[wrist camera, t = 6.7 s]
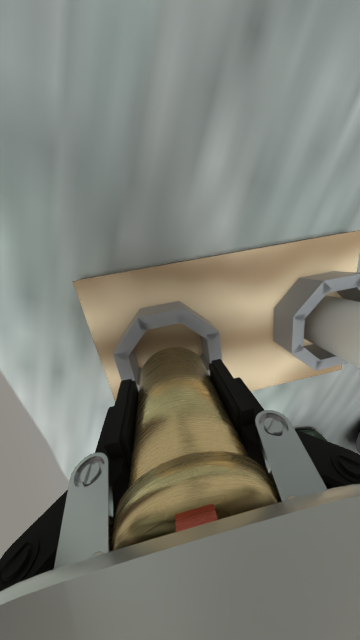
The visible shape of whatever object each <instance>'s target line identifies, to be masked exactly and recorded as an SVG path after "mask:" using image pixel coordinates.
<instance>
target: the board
mask: <svg viewBox="0 0 360 640" xmlns="http://www.w3.org/2000/svg"><path fill="white" fill-rule="evenodd" d="M359 252H360V230H359V231H352V232H345V233H339V234H334V235H328V236H323V237H317V238H311V239H306V240H300V241H294V242H289V243H283V244H277V245H272V246H266V247H261V248H255V249H249V250H244V251H238V252H232V253H227V254H221V255H215V256H210V257H204V258H199V259H193V260H187V261H182V262H176V263H170V264H165V265H159V266H153V267H148V268H142V269H137V270H131V271H125V272H120V273H114V274H108V275H103V276H97V277H91V278H86V279H80V280H77V281H73V284H74V287H75V290H76V293H77V295H78V298H79V301H80V304H81V307H82V309H83V312H84V315H85V318H86V321H87V323H88V326H89V329H90V332H91V335H92V338H93V340H94V343H95V346H96V349H97V352H98V354H99V357H100V360H101V363H102V366H103V368H104V371H105V374H106V377H107V380H108V383H109V385H110V388H111V391H112V394H113V397H114V399H115V402H116V398H117V394H118V390H119V387H120V383H121V378H120V375H119V372H118V369H117V366H116V362H115V359H114V356H113V353H114V351H115V348H116V346H117V344H118V341H119V339H120V338H121V336H122V335H123V333H124V332H125V330H126V329H127V327H128V326H129V324H130V323H131V321H132V320H133V318H134V317H135V315H136V314H137V312H138V311H139V309H140V308H146V307H151V306H156V305H161V304H166V303H171V302H177V301H180V302H182V303H183V304H185V305H186V306H188V307H189V308H191V309H192V310H194V311H195V312H197V313H198V314H200V315H201V316H203V317H204V318H205V319H207V320H208V321H210V322H211V323H212V324H213V325H214V327H215V328H216V329H217V330H218V331H219V333H220V343H221V353H222V362H223V363H224V364H225V366H226V367H227V369H228V370H229V372H230V373H231V375H232V376H233V378H238V377H239V378H241V379H242V381H243V382H244V383H245V385H246V386H247V387H248V389H249V390H250V391H253V390H257V389H262V388H266V387H270V386H274V385H278V384H282V383H287V382H291V381H295V380H299V379H303V378H308V377H312V376H316V375H320V374H324V373H328V372H333V371H337V370H341V369H342V364H341V365H337V366H333V367H329V368H324V369H320V370H316V371H315V370H313V369H312V368H310V367H309V366H308V365H306V364H305V363H303V362H302V361H300V360H299V359H297V358H296V357H295V356H293V355H292V354H290V353H289V352H288V351H286V350H285V349H284V348H282V347H281V346H280V345H278V344H277V343H276V342H274V341H273V327H274V307H275V306H276V305H277V304H278V302H279V301H280V300H281V299H282V298H283V296H284V295H285V294H286V293H287V292H288V290H289V289H290V288H291V287H292V286H293V284H294V283H295V282H296V281H297V279H298V278H300V277H305V276H311V275H316V274H321V273H326V272H331V271H340V272H357V265H358V259H359ZM326 295H328V296H333V297H338V298H342V297H341V296H340V295H339V294H338V293H337V292H336V291H335V292H330V293H327V294H326ZM311 344H313V343H311V342H309V341H307V340H305V339H304V340H303V346H307V345H311ZM171 347H181V348H186V349H189V350H191V351H193V352H194V353H196V354H197V355H198V356H199V357H200V355H201V354H202V353H203V350H202V343H201V335H199V334H198V333H196V332H194V331H193V330H191V329H190V328H188V327H187V326H185V325H184V324H182V323H178V324H173V325H168V326H163V327H158V328H153V329H148V330H146V331H145V333H144V334H143V336H142V337H141V339H140V340H139V342H138V343H137V344H136V346H135V347H134V351H135V355H136V358H137V362H138V366H139V367H141V368H143V366H144V364H145V363H146V361H147V360H148V359H149V358H150V357H151V356H152V355H153V354H155V353H156V352H158V351H160V350H163V349H166V348H171Z"/></svg>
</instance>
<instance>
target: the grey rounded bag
mask: <svg viewBox="0 0 360 640" xmlns="http://www.w3.org/2000/svg"><path fill="white" fill-rule="evenodd" d="M356 446H357V451H358V452H359V453H360V432H359V435H358V438H357V441H356Z"/></svg>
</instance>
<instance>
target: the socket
mask: <svg viewBox="0 0 360 640" xmlns="http://www.w3.org/2000/svg"><path fill="white" fill-rule="evenodd" d="M178 323H182V324H184V325H185V326H187V327H188V328H190V329H191V330H193V331H194V332H196V333H198V334H199V335H201V343H202V350H203V353H202V354H201V355H200V358H201V359H202V361H203V363H204V365H205V367H206V369H207V371H208V373H209V375H210V371H209V364H210V363H211V361H212V360H217V359H221V360H222V353H221V343H220V333H219V331H218V330H217V329H216V328H215V327H214V325H213V324H212V323H211V322H210V321H208V320H207V319H205V318H204V317H203V316H201V315H200V314H198V313H197V312H195V311H194V310H192V309H191V308H189V307H188V306H186V305H185V304H183V303H182V302H180V301H177V302H171V303H166V304H161V305H156V306H151V307H146V308H140V309H139V311H138V312H137V314H136V315H135V317H134V318H133V320H132V321H131V323H130V324H129V326H128V327H127V329H126V330H125V332H124V333H123V335H122V336H121V338H120V339H119V341H118V344H117V346H116V348H115V351H114V353H113V356H114V359H115V362H116V366H117V369H118V372H119V375H120V378H121V381H123V380H127V379H132V381H134V380H135V382H136V385H137V388H138V391H139V387H140V378H141V371H142V368H141V367H139V366H138V362H137V358H136V355H135V351H134V347H135V346H136V344H137V343H138V342H139V340H140V339H141V337H142V336H143V334H144V333H145V331H146V330H148V329H153V328H158V327H163V326H168V325H173V324H178Z"/></svg>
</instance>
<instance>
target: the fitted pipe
mask: <svg viewBox="0 0 360 640" xmlns="http://www.w3.org/2000/svg"><path fill="white" fill-rule="evenodd" d="M335 291H336V292H337V293H338V294H339V295H340V296H341V297H342V298H338V297H333V296H328V295H326V294H327V293H330V292H335ZM304 339H305V340H307V341H309V342H311V343H313V344H311V345H307V346H303V340H304ZM273 341H274V342H276V343H277V344H278V345H280V346H281V347H282V348H284V349H285V350H286V351H288V352H289V353H290V354H292V355H293V356H295V357H296V358H297V359H299V360H300V361H302V362H303V363H305V364H306V365H308V366H309V367H310V368H312V369H313V370H315V371H316V370H320V369H324V368H329V367H333V366H337V365H341V364H345V363H351V364H353V365H354V366H356V367H358V368H360V273H356V272H340V271H331V272H326V273H321V274H316V275H311V276H305V277H300V278H298V279H297V281H296V282H295V283H294V284H293V286H292V287H291V288H290V289H289V290H288V292H287V293H286V294H285V295H284V296H283V298H282V299H281V300H280V301H279V302H278V304H277V305H276V306H275V307H274V327H273Z"/></svg>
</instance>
